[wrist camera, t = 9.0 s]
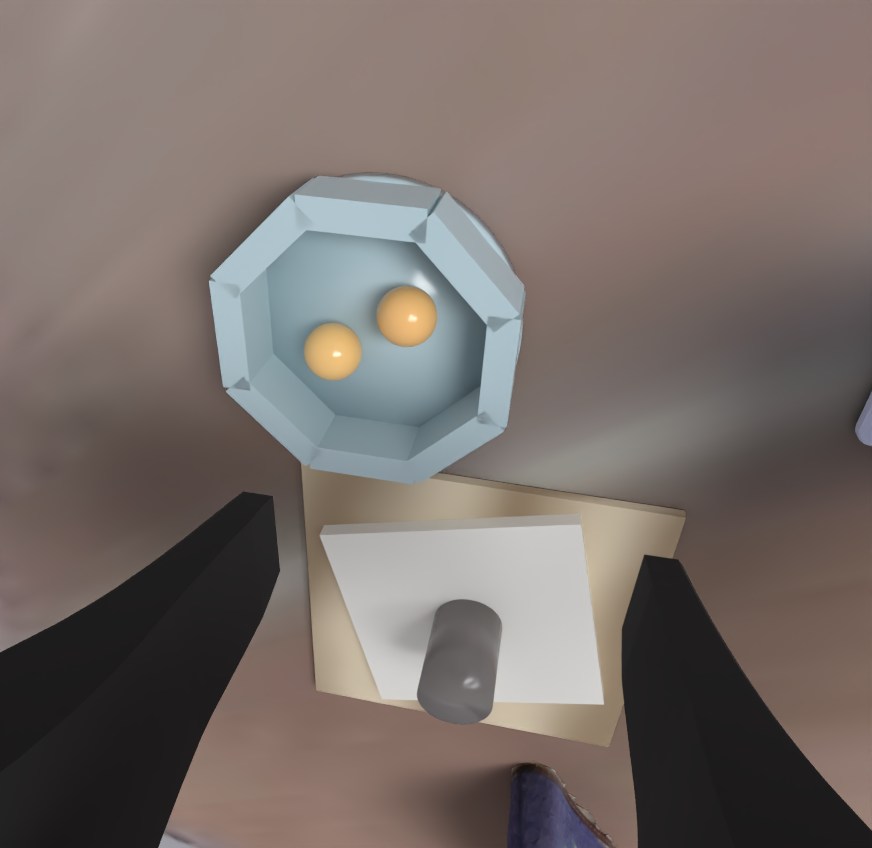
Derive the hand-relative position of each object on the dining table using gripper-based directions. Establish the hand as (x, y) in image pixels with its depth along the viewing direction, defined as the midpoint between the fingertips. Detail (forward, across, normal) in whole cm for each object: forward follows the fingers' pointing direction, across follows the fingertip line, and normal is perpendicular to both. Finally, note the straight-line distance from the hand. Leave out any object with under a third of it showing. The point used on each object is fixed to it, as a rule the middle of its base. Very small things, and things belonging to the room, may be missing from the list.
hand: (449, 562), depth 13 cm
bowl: (+10, +4, 0) cm, 11 cm away
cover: (+10, 0, +13) cm, 16 cm away
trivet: (+10, 0, +13) cm, 17 cm away
